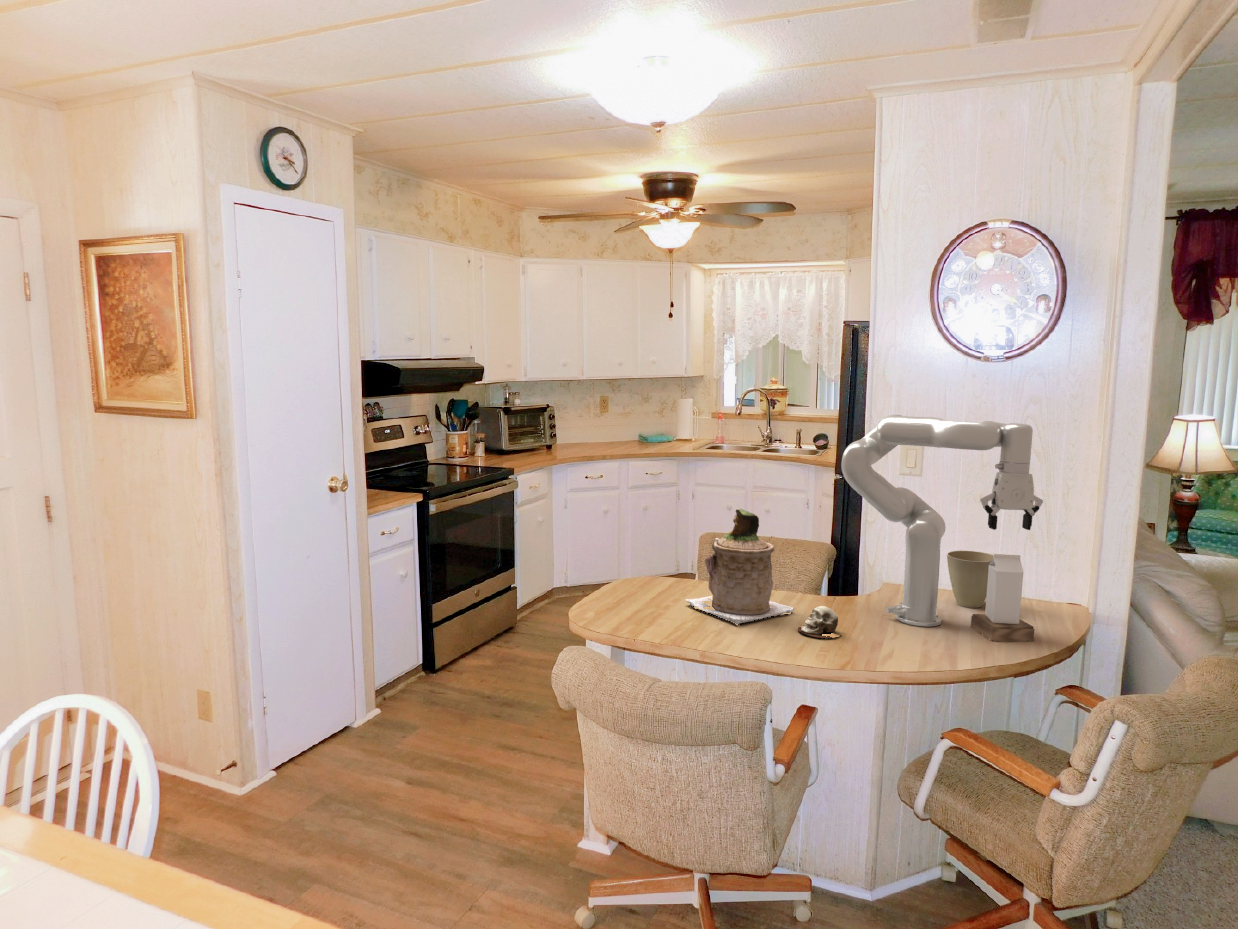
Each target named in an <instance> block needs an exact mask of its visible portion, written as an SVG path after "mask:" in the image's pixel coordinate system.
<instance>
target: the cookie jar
mask: <svg viewBox="0 0 1238 929" xmlns="http://www.w3.org/2000/svg"><path fill="white" fill-rule="evenodd" d="M759 519H760V518H759V516H758V515H756V514H755V513H753V512H750V511H748V510H745V509H742V508H736V510H735V515H734V517H733V519H732V520H733V521H732V522H733V523H734V526H733V529H732V530H731V531H729V532H728V533H726V534H724V535H723V536H721V538H719V537H716V538H714V540H713V542H712V545H711V548H712V550H713V551H714V553H711V554H709V556H707V557H706V558H705V560H704V565H705V566H706V571H707V573H708V575H709V578H708V589H709V591H710V592H711V594H712V595H707V596H702V597H698V598H688V599H687V598H686V599H685V600H684V601H686V602H687V604H689V603H690V604H689V605H690V606H692V607H693V606H694V607H697V608H699V609H701V610H703V611H705V612H707V613H706V614H708V613H711V614H714V615H716V616H718V617H717V618H719V617H720V618H719V619H721V618H723V619H722V620H724V619H727V620H729V621H732V622H734V623H736V624H739V625H740V624H742V623H749V622H754V620H755V621H759V620H763V618H764V619H767V617H768V618H772V617H771V616H774V617H777V616H776V615H780V614H783V613H790V612H792V613H793V612H794V609H795V608H794V607H792V606H790V605H785V604H782V603H778V602H777V601H776V602H775V601H772V600H771V595H772V591H773V585H774V582H773V565H772V557H771V555H772V554H773V552H775V545H773V544H772V543H770V542H767V541H765V540H763V539H761V538H760V537H759V536H758V535H757V534H758V531H759V527H760V520H759ZM712 596H713V599H712ZM708 598H709V599H711V600H712V607H713V608H714V609H715V610H710V609H704V608H703V607H710V606H708V605H707V604H706V603H704V602H702V601H710V600H709V599H708ZM769 601H770V602H769ZM694 607H693V608H694ZM770 607H771V608H770ZM703 611H702V612H703ZM705 612H704V613H705ZM711 614H710V615H711ZM716 616H715V617H716ZM780 616H781V615H780ZM758 619H759V620H758ZM727 620H726V621H727ZM729 621H728V622H729ZM732 622H731V623H732ZM734 623H733V624H734ZM736 624H735V625H736Z"/></svg>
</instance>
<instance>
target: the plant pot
mask: <svg viewBox="0 0 1238 929" xmlns="http://www.w3.org/2000/svg"><path fill="white" fill-rule="evenodd" d="M993 556H994V554H992V553H987V552H984V551H983V552H982V551H975V550H953V551H952V550H951V551H948V552H947V553H946V561H947V568H948V569H947V570H948V575H949V580H950V583H951V588H952V592H953V596H954V598H955V602H956V604H957V606H961V607H963V608H970V609H971V608H972V609H975V608H976V609H978V607H979V608H981V607H982V606H983V605H984V602H986V595H987V583H988V570H989V564H990V562H991V561H992V559H993Z"/></svg>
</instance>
